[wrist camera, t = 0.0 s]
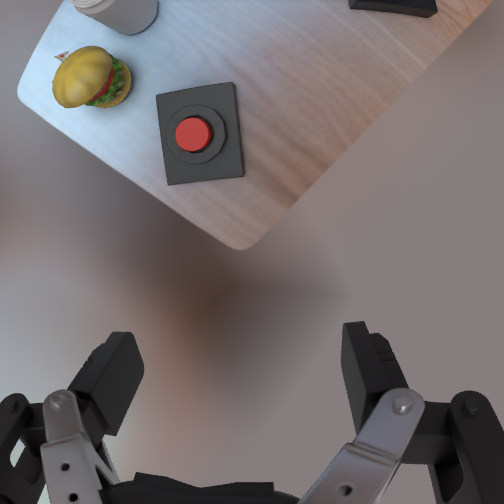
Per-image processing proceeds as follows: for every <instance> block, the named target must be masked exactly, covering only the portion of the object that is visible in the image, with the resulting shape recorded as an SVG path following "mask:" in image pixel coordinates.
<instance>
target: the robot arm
mask: <svg viewBox="0 0 504 504" xmlns="http://www.w3.org/2000/svg"><path fill="white" fill-rule="evenodd" d="M341 367H342V373H343V377H344V382H345V385H346V390H347V394H348V399H349V403H350V408H351V412H352V417H353V421H354V426H355V431H356V438H355V439H354V440H353V442H352V443H346V444H345V445H344V446H343V447H342V448H341V450H340V451H339V452H338V454H337V455H336V456H335V458H334V459H333V460H332V462H331V463H330V464H329V465H328V467H327V468H326V469H325V471H324V472H323V473H322V474H321V476H320V477H319V478H318V479H317V481H316V482H315V483H314V484H313V486H311V488H310V489H309V490H308V491H307V493H306V494H305V495H304V496H303V497H302V498H301V499H299V498H297V497H295V496H293V495H290V494H286V493H283V492H279V491H275V490H274V484H273V482H235V483H230V484H224V485H217V486H211V487H203V488H198V487H195V486H192V485H188V484H186V483H182V482H180V481H177V480H174V479H171V478H168V477H165V476H158V475H151V474H145V473H139V472H136V474H135V477H134V480H133V481H126V482H120V480H119V478H118V476H117V474H116V471H115V469H114V467H113V464H112V461H111V459H110V456H109V453H108V451H107V448H106V445H105V443H104V441H103V440H102V439H103V436H104V434H106V435H112V436H116V435H117V433H118V431H119V428H120V426H121V424H122V422H123V419H124V417H125V415H126V413H127V410H128V408H129V406H130V404H131V401H132V399H133V397H134V395H135V393H136V391H137V389H138V386H139V384H140V382H141V380H142V378H143V374H144V364H143V360H142V357H141V355H140V352H139V349H138V346H137V344H136V340H135V338H134V335H133V334H132V333H131V332H112V333H111V335H110V336H109V337H108V339H107V340H106V342H105V343H103V344H101V345H100V346H98V347H97V348H96V349H95V350H93V352H92V353H91V355H90V356H89V358H88V361H86V362H85V363H84V365H83V367H82V368H81V369H80V371H79V372H78V374H77V375H76V377H75V378H74V379H73V381H72V382H71V384H70V386H69V387H68V389H67V390H65V389H63V390H58V391H55V392H53V393H51V394H50V395H49V396H48V397H47V398H46V399H45V400H44V402H43V403H33V404H30V403H29V402H28V400H27V398H26V397H25V396H24V395H23V394H20V393H15V394H11V395H9V396H7V397H6V398H5V399H4V400H3V401H2V402H1V403H0V504H37V503H38V500H39V498H40V495H41V493H42V491H43V488H44V486H45V483H46V485H47V490H48V494H49V499H50V503H51V504H378V503H379V501H380V500H381V498H382V496H383V495H384V493H385V491H386V490H387V488H388V486H389V485H390V483H391V481H392V480H393V478H394V476H395V474H396V472H397V470H398V469H399V467H400V465H401V463H405V464H427V465H428V469H429V473H430V477H431V481H432V486H433V489H434V494H435V499H436V504H504V431H503V429H502V427H501V424H500V422H499V420H498V418H497V416H496V414H495V412H494V410H493V408H492V406H491V404H490V403H489V401H488V399H487V398H486V397H485V396H484V395H482V394H481V393H479V392H475V391H463V392H460V393H458V394H456V395H455V396H454V397H453V399H452V401H451V403H437V402H428V401H424V400H423V398H422V396H420V394H418V393H417V392H416V391H414V390H411V389H409V387H408V384H407V382H406V380H405V377H404V375H403V373H402V371H401V368H400V366H399V364H398V362H397V360H396V357H395V355H394V353H393V352H392V349H391V346H390V344H389V342H388V340H386V339H385V338H384V337H383V336H382V335H380V334H379V333H373V334H369V332H368V330H367V327H366V324H365V322H364V321H359V322H350V323H344V324H343V331H342V350H341ZM19 439H20V440H21V442H22V443H23V444H24V445H25V448H24V450H23V452H22V454H21V456H20V458H19V460H18V462H17V463H16V466H15V467H13V466H12V464H11V462H10V454H11V452H12V450H13V448H14V447H15V445H16V443H17V441H18V440H19Z"/></svg>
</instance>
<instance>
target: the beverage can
mask: <svg viewBox="0 0 504 504" xmlns="http://www.w3.org/2000/svg"><path fill="white" fill-rule="evenodd" d="M71 2H72V4H73V5H74V7H75V8H76V10H77V11H78V12H80V13H82V14H84V15H86V16H88V17H90V18H92V19H94V20H96V21H98V22H100V23H102V24H104V25H106V26H108V27H110V28H111V29H113V30H115V31H117V32H119V33H121V34H125V35H130V34H135V33H138V32H140V31H142V30H144V29H145V28H147V27H148V26H149V25H150V24H151V23H152V21H153V20H154V18H155V16H156V13H157V2H156V0H71Z"/></svg>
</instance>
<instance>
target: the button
mask: <svg viewBox="0 0 504 504" xmlns="http://www.w3.org/2000/svg"><path fill="white" fill-rule="evenodd" d="M211 135H212V132H211V128H210V126H209V124H208V123H207V122H206V121H204V120H203V119H200V118H187V119H185V120H183V121H182V122H181V123H180V124H179V125H178V126H177V129H176V132H175V138H176V141H177V143H178V145H179V146H180V147H181V148H182V149H184V150H186V151H197V150H200V149H203V148H204V147H206V146H207V145H208V143H209V142H210V140H211Z"/></svg>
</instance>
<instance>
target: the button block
mask: <svg viewBox="0 0 504 504" xmlns="http://www.w3.org/2000/svg"><path fill="white" fill-rule="evenodd" d="M156 101H157V110H158V118H159V126H160V134H161V142H162V149H163V156H164V163H165V170H166V177H167V183H168V185H175V184H183V183H191V182H199V181H207V180H215V179H224V178H234V177H243V176H244V174H245V171H244V162H243V153H242V144H241V135H240V126H239V118H238V109H237V100H236V91H235V84H234V83H233V82H228V83H221V84H214V85H207V86H201V87H195V88H189V89H184V90H179V91H174V92H169V93H164V94H159V95H156ZM187 118H200V119H203V120H204V121H206V122H207V123H208V124H209V126H210V128H211V132H212V135H211V140H210V142H209V143H208V145H207V146H206V147H204V148H203V149H200V150H197V151H186V150H184V149H182V148H181V147H180V146H179V145H178V143H177V141H176V138H175V132H176V129H177V126H178V125H179V124H180V123H181V122H182V121H183V120H185V119H187Z"/></svg>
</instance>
